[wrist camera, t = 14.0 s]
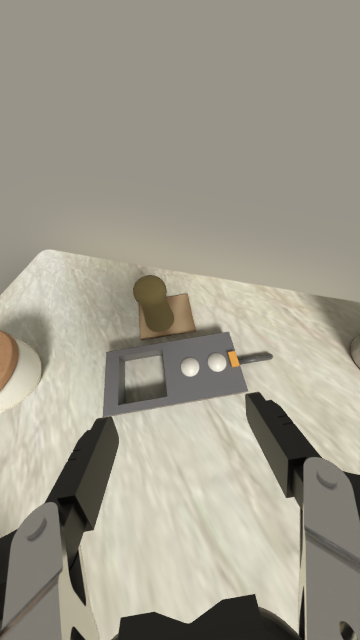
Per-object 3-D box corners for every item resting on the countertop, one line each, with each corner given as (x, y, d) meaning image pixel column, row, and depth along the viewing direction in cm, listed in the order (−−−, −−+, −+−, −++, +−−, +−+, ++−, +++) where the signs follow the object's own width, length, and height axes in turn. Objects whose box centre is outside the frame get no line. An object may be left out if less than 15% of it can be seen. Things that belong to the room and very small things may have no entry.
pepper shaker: (147, 306, 36) (131, 269, 27) (174, 306, 36) (168, 268, 26) (143, 332, 34) (124, 301, 24) (173, 332, 33) (166, 300, 24)
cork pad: (187, 295, 38) (187, 293, 38) (195, 331, 34) (195, 329, 33) (139, 303, 38) (138, 301, 37) (141, 340, 34) (140, 338, 33)
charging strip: (260, 332, 33) (268, 323, 30) (283, 385, 28) (295, 382, 25) (113, 356, 32) (104, 351, 29) (111, 416, 27) (100, 417, 24)
